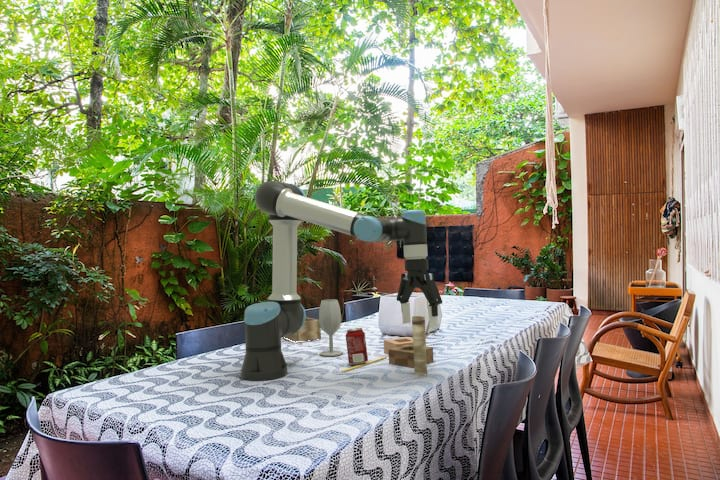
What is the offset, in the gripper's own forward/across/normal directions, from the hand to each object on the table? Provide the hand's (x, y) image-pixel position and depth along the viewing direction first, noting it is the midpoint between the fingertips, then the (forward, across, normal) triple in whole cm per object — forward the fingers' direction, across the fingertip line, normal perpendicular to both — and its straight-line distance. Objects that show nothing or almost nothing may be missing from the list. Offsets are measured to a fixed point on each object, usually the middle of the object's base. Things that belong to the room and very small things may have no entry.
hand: (419, 325), depth 160 cm
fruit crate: (+14, +84, +2) cm, 86 cm away
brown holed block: (+15, +14, -7) cm, 22 cm away
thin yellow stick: (+15, +22, +7) cm, 28 cm away
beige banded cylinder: (+15, 0, 0) cm, 15 cm away
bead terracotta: (+15, +28, -14) cm, 35 cm away
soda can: (+15, +24, +9) cm, 30 cm away
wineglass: (+15, +46, +8) cm, 49 cm away
